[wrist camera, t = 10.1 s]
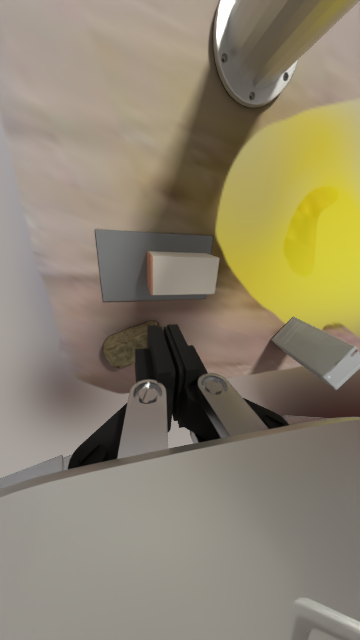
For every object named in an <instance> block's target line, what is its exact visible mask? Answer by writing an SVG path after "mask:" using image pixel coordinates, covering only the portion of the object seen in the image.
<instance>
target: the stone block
mask: <svg viewBox="0 0 360 640" xmlns="http://www.w3.org/2000/svg"><path fill="white" fill-rule="evenodd" d="M148 325H158V328H160V326H159V324H158V322H157V321H149V322H147V323H143V324H141V325H138V326H136V327H133V328H129V329H127V330H124V331H122V332H119V333H116V334H114V335H111V336H109V337H108V338H106V340H105V342H104V344H103V353H104V355H105V356H106V358H107V360H108V361H109V362H110V364H111V365H112V366H113V367H117V368H123V367H125V366H127V365H130V364H133V363H135V349H143V348H147V330H148Z"/></svg>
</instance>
